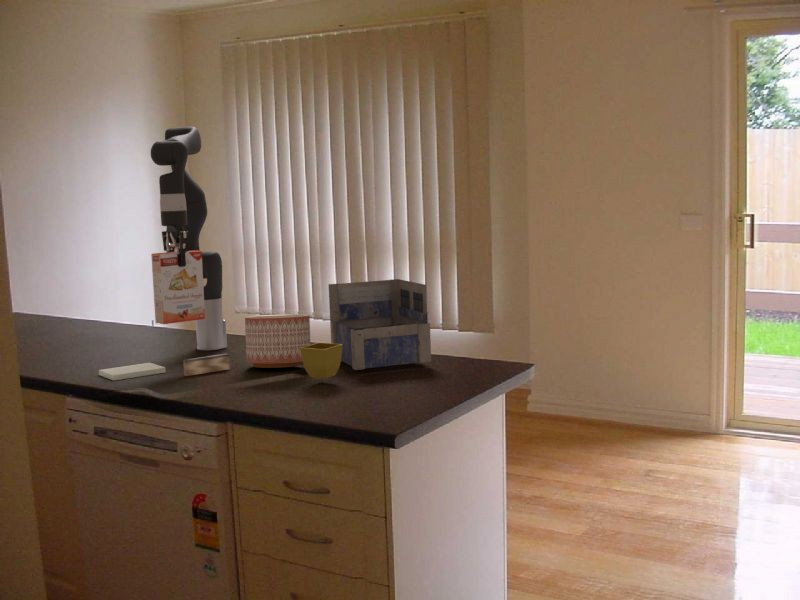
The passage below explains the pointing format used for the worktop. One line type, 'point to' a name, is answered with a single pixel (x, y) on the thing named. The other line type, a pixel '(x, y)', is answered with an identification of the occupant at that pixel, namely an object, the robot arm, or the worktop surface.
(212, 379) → the worktop surface
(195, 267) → the cracker box
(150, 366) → the plate
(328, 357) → the flower pot
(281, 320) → the planter
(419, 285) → the building
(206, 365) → the tear rail
